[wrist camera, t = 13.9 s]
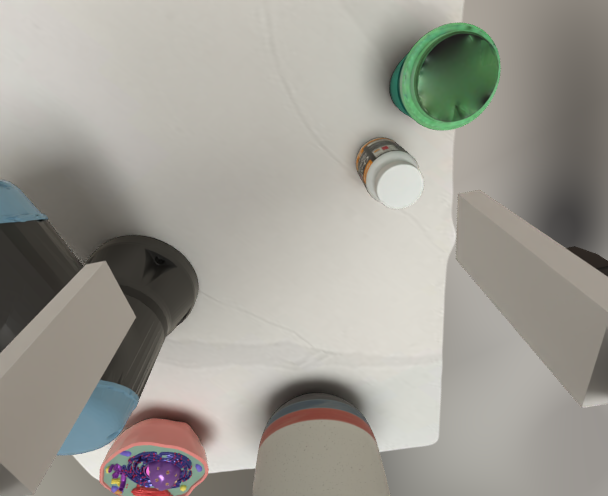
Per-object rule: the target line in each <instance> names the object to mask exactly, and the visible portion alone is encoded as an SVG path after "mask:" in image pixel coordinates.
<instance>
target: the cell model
mask: <svg viewBox="0 0 608 496" xmlns="http://www.w3.org/2000/svg"><path fill="white" fill-rule="evenodd" d="M207 475H208V463H207V457H206V453H205V450H204V448H203V446H202V444H201V442H200V440H199V438H198V436H197V435H196V433H195V432H194V431H193V430H192V428H191V427H190V426H189V424H187V423H185V422H179V421H172V420H168V419H159V418H151V419H146V420H143V421H141V422H139V423H137V424H135V425H133V426H131V427H130V428H128V429H126V430H125V431H124V432H123V433H122V434H121V435H120V436H119V437H118V438H117V439H116V441H115V442H114V443H113V445H112V446H111V448H110V449H109V451H108V453H107V455H106V457H105V459H104V461H103V463H102V465H101V468H100V483H101V484H102V485H103V486H104V487H105V488H107V489H108V490H110V491H111V492H113V493H114V494H116V495H119V496H188V495H189V494H190V493H191V492H192V490H193V489H194V488H195V487H196V486H197V485H198V484H200V483H201V482H203V481H204V479H205V478H206V477H207Z"/></svg>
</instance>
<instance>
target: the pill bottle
mask: <svg viewBox="0 0 608 496" xmlns="http://www.w3.org/2000/svg"><path fill="white" fill-rule="evenodd" d="M356 168H357V172H358V174H359V176H360V178H361V180H362V181H363V183H364V185H365V187H366V189H367V191H368V193H369V194H370V195H371V196H372V197H373V198H374V199H375V200H377V201H379V202H381V203H382V204H383V205H385V206H386V207H388V208H391V209H403V208H406V207H409V206H410V205H412V204H413V203H415V202H416V201H417V200H418V199H419V197H420V196H421V194H422V191H423V188H424V179H423V176H422V174H421V172H420V170H419V166H418V164H417V162H416V160H415V159H414V158H413V157H412V156H411V155H410V154H409V153H408V152H407V151H405V150H404V149H403V148H402V147H401V146H399V145H398V144H397V143H396V142H394V141H393V140H391V139H388V138H375V139H372V140H370V141H369V142H367V143H366V144H365V145H363V147H362V148H361V149H360V151H359V153H358V155H357V158H356Z"/></svg>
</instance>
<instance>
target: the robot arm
mask: <svg viewBox="0 0 608 496" xmlns="http://www.w3.org/2000/svg"><path fill="white" fill-rule="evenodd" d="M456 260H457V261H458V262H459V263H460V265H461V266H462V267H463V268H464V269H465V271H466V272H467V273H468V274H469V275H470V277H472V279H473V280H474V281H475V282H476V284H477V285H478V286H479V287H480V288H481V289H482V291H483V292H484V293H485V294H486V295H487V297H488V298H489V299H490V300H491V301H492V303H493V304H494V305H495V306H496V307H497V308H498V310H499V311H500V312H501V313H502V314H503V315H504V317H505V318H506V319H507V320H508V321H509V323H510V324H511V325H512V326H513V327H514V328H515V330H516V331H517V332H518V333H519V334H520V336H521V337H522V338H523V339H524V340H525V342H526V343H527V344H528V345H529V346H530V347H531V349H532V350H533V351H534V352H535V353H536V355H537V356H538V357H539V358H540V359H541V360H542V362H543V363H544V364H545V365H546V366H547V368H548V369H549V370H550V371H551V372H552V373H553V375H554V376H555V377H556V378H557V379H558V380H559V382H560V383H561V384H562V385H563V386H564V387H565V389H566V390H567V391H568V392H569V393H570V395H571V396H572V397H573V398H574V399H575V401H576V402H577V403H578V404H579V405H580V406H581V408H583V407H590V406H596V405H602V404H608V261H607V260H605V259H604V258H602V257H601V256H599V255H597V254H595V253H592V252H589V251H587V250H584V249H581V248H578V247H575V246H574V247H569V248H564V247H563V246H562V245H560V244H559V243H557V242H556V241H554V240H553V239H551V238H550V237H548V236H547V235H545V234H544V233H542V232H541V231H539V230H538V229H537V228H535V227H534V226H532V225H531V224H529V223H528V222H526V221H525V220H523V219H522V218H520V217H519V216H517V215H516V214H514V213H513V212H512V211H510V210H509V209H507V208H506V207H504V206H503V205H501V204H500V203H498V202H497V201H495V200H494V199H492V198H491V197H489V196H488V195H486V194H485V193H484V192H482V191H481V190H475V191H471V192H465V193H460V194H458V205H457V238H456ZM197 295H198V280H197V277H196V274H195V272H194V269H193V268H192V266H191V265H190V263H189V262H188V261H187V259H186V258H185V257H184V256H183V255H182V254H181V253H179V252H178V251H177V250H176V249H174V248H173V247H171V246H169V245H168V244H166V243H164V242H161V241H159V240H156V239H153V238H149V237H144V236H123V237H118V238H115V239H112V240H110V241H108V242H106V243H105V244H103V245H102V246H101V247H100V248H99V249H97V250H96V251H95V252H94V253H93V254H92V256H91V257H90V258H89V259H88V261H87V262H86V264H85V266H83V265H82V264H81V263H80V262H79V260H78V259H77V258H76V257H75V255H74V254H73V253H72V252H71V250H70V249H69V248H68V246H67V245H66V244H65V243H64V241H63V240H62V239H61V237H60V236H59V235H58V233H57V232H56V231H55V230H54V228H53V227H52V226H51V224H50V223H49V222H48V217H47V216H46V215H45V214H41V212H40V211H39V210H38V209H37V208H36V207H35V206H34V205H33V204H32V203H31V201H30V200H29V199H28V198H27V197H26V196H25V195H24V193H23V192H22V191H21V190H20V189H19V188H18V187H17V186H15V185H14V184H12V183H10V182H8V181H5V180H1V179H0V495H1V496H26V495H32V494H34V493H35V491H36V490H37V487H38V486H39V484H40V482H41V481H42V479H43V477H44V476H45V474H46V472H47V470H48V469H49V467H50V465H51V464H52V462H53V460H54V458H55V457H56V455H75V454H82V453H86V452H90V451H94V450H96V449H99V448H101V447H103V446H105V445H107V444H108V443H110V442H111V441H113V440H114V439H115V438H116V437H117V436H118V435H119V434H120V432H121V431H122V430H123V428H124V426H125V424H126V422H127V420H128V418H129V417H130V415H131V413H132V411H133V410H134V409H135V408H136V407H137V404H138V402H139V398H140V396H141V394H142V391H143V389H144V387H145V384H146V382H147V380H148V377H149V375H150V373H151V370H152V368H153V366H154V363H155V361H156V359H157V356H158V354H159V352H160V349H161V347H162V344H163V342H164V340H165V338H166V336H168V335H169V334H170V333H171V332H172V331H173V330H174V329H175V328H176V326H178V325H179V324H180V323H182V322H183V321H184V320H185V319H186V318H187V316H188V315H189V314H190V312H191V310H192V308H193V306H194V304H195V301H196V298H197Z"/></svg>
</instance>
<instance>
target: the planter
mask: <svg viewBox="0 0 608 496" xmlns="http://www.w3.org/2000/svg"><path fill="white" fill-rule="evenodd" d="M252 496H390V492H389V488H388V484H387V479H386V476H385V471H384V467H383V464H382V460H381V456H380V452H379V449H378V445H377V442H376V439H375V437H374V434H373V432H372V430H371V428H370V426H369V424H368V422H367V420H366V419H365V418H364V416H363V415H362V413H361V412H360V411H359V410H358V409H357V408H356V407H354V406H353V405H352V404H350V403H349V402H347V401H346V400H344V399H342V398H340V397H337V396H334V395H331V394H326V393H309V394H304V395H301V396H298V397H296V398H293V399H291V400H290V401H288V402H286V403H285V404H284V405H282V406H281V407H280V408H279V409H278V410H277V411H276V412H275V413H274V414H273V415H272V417H271V418H270V420H269V421H268V423H267V425H266V427H265V430H264V432H263V435H262V438H261V441H260V445H259V450H258V456H257V463H256V470H255V477H254V485H253V494H252Z"/></svg>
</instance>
